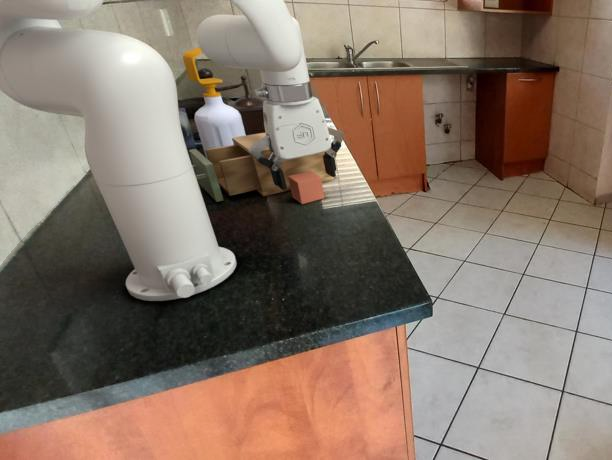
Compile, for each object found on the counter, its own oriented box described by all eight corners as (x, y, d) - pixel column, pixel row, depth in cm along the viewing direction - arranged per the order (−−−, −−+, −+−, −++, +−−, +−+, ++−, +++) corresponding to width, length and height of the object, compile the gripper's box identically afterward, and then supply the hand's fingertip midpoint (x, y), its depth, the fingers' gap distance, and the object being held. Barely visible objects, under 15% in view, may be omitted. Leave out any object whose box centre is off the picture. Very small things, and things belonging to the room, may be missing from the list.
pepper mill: (277, 131, 123) (263, 65, 114) (281, 142, 115) (266, 71, 106) (214, 136, 116) (194, 66, 107) (213, 148, 108) (191, 73, 99)
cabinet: (263, 196, 84) (252, 152, 80) (242, 179, 91) (231, 137, 87) (334, 179, 94) (327, 139, 90) (310, 164, 101) (303, 126, 97)
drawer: (183, 209, 76) (169, 171, 72) (168, 191, 82) (155, 155, 79) (290, 184, 88) (283, 150, 84) (270, 170, 94) (263, 137, 91)
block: (324, 198, 85) (321, 177, 83) (301, 204, 82) (297, 182, 80) (314, 191, 88) (310, 170, 86) (292, 197, 85) (287, 176, 83)
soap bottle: (258, 155, 104) (231, 48, 93) (219, 165, 98) (185, 50, 86) (238, 148, 108) (210, 44, 97) (199, 157, 102) (164, 46, 90)
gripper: (242, 103, 68) (268, 199, 76) (345, 90, 79) (357, 175, 87) (227, 94, 72) (253, 186, 81) (326, 83, 83) (339, 165, 92)
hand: (307, 181), depth 84 cm, fingers open, 9 cm apart
